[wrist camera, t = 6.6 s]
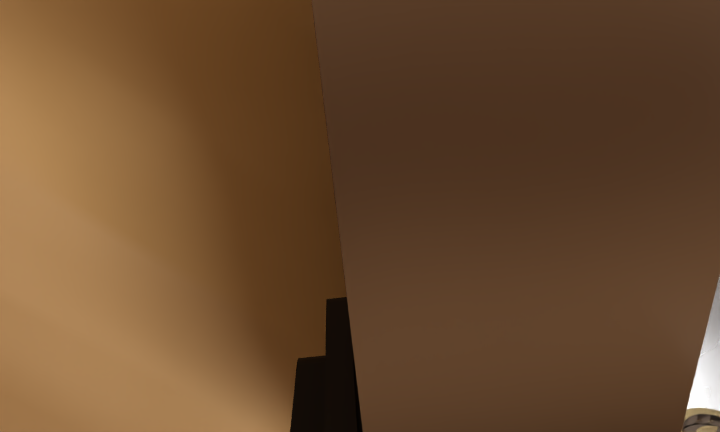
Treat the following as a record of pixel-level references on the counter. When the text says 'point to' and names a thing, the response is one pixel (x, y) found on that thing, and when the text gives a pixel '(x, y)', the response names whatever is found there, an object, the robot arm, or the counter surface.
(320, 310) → the counter surface
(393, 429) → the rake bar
